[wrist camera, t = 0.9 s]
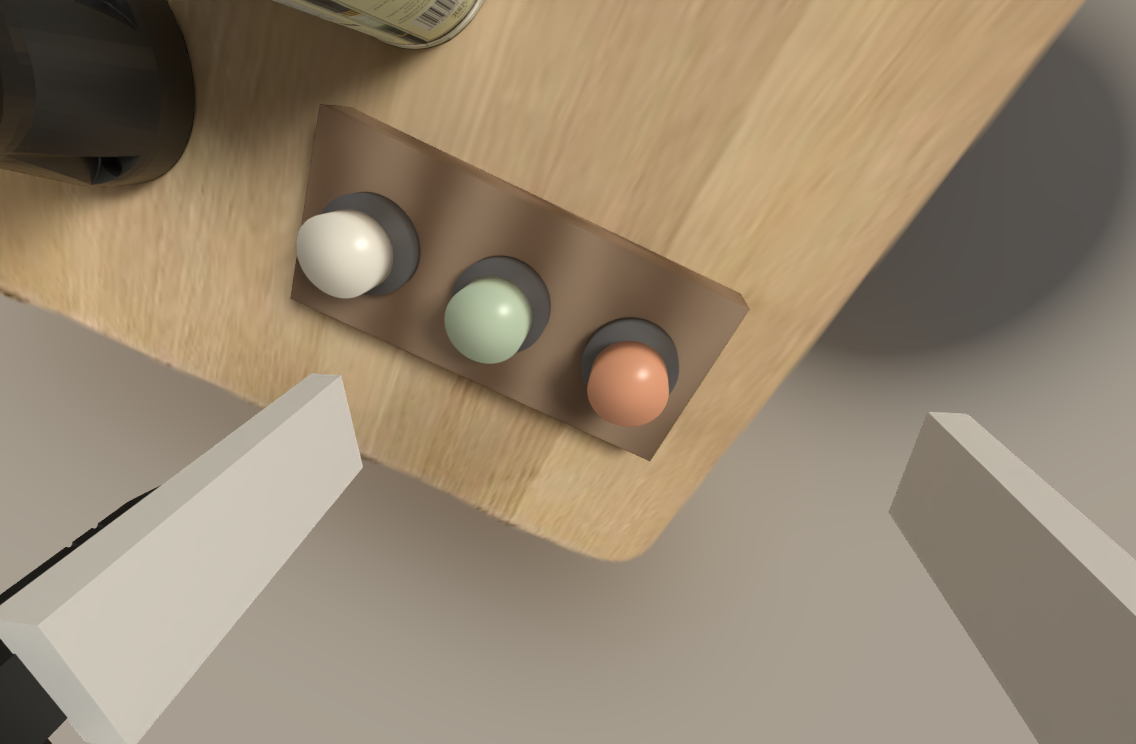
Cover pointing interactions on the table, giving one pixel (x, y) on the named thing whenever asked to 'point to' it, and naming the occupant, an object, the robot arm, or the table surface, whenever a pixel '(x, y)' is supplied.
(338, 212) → the button cream
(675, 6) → the table surface
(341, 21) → the coffee can
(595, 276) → the button panel
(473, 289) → the button green
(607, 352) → the button terracotta
